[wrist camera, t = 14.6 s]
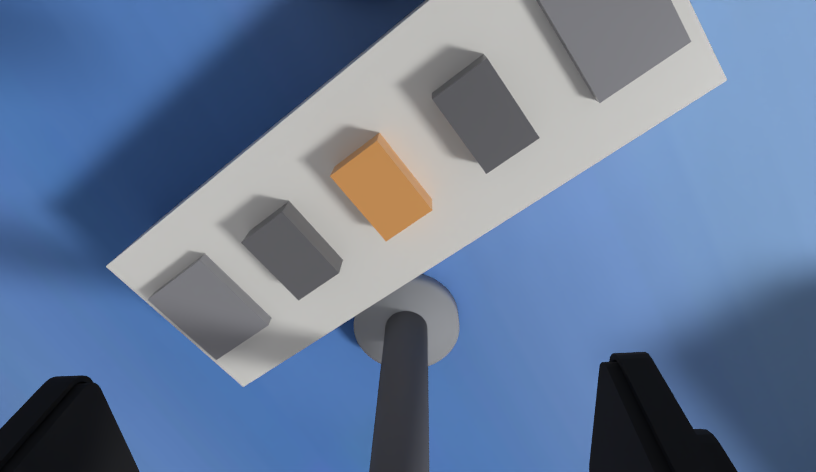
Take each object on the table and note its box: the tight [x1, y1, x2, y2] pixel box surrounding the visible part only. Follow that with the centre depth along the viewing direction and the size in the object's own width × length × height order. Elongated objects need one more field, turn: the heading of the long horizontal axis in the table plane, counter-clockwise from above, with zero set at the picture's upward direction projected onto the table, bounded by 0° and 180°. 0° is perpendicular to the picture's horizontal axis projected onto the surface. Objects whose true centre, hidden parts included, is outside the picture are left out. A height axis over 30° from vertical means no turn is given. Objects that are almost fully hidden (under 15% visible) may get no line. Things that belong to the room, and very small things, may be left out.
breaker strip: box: [106, 0, 727, 387], centre depth 23 cm, size 9×26×6 cm, turn 127°
